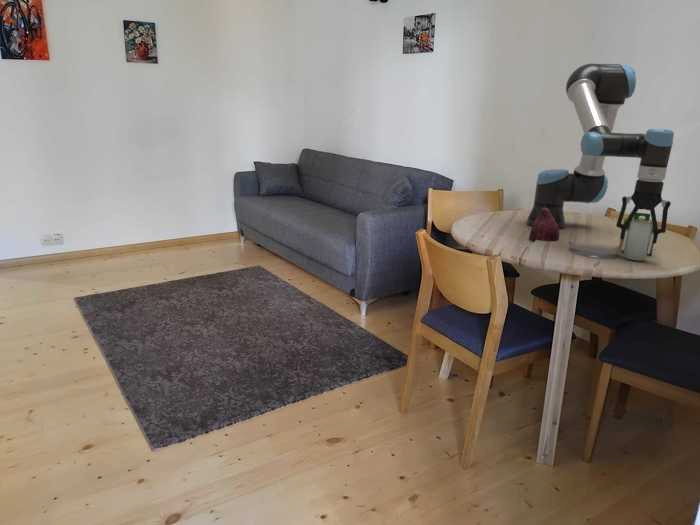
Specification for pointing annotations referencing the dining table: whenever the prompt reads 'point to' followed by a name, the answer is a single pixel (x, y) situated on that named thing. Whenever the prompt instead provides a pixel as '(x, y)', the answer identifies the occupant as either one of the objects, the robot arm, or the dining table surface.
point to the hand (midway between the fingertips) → (635, 250)
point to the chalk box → (647, 217)
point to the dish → (594, 252)
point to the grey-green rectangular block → (638, 239)
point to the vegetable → (544, 227)
